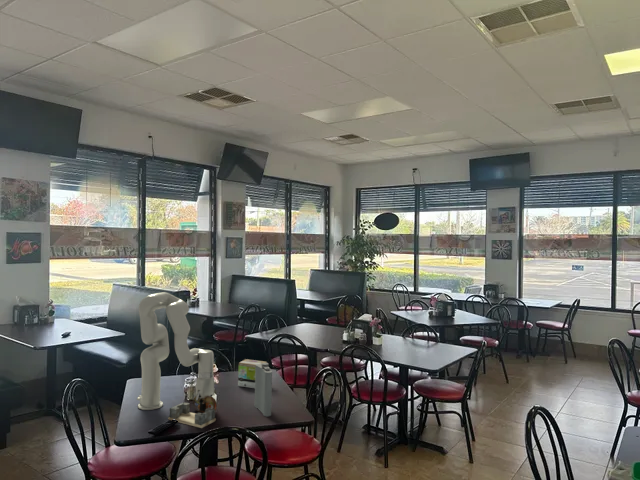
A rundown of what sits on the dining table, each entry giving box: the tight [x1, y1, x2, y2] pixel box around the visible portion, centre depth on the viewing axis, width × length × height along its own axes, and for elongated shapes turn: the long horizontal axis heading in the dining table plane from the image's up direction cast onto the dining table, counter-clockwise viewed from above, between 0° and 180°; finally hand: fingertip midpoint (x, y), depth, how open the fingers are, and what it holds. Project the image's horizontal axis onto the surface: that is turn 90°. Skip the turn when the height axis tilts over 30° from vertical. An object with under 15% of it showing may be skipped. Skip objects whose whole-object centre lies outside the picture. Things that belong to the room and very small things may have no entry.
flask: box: [254, 362, 273, 417], centre depth 250 cm, size 17×5×25 cm, turn 27°
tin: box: [192, 396, 218, 414], centre depth 246 cm, size 15×3×8 cm, turn 57°
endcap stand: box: [167, 401, 217, 429], centre depth 234 cm, size 10×21×6 cm, turn 64°
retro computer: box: [237, 358, 268, 389], centre depth 291 cm, size 15×10×15 cm, turn 73°
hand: (204, 409), depth 245 cm, fingers closed on tin, 3 cm apart
